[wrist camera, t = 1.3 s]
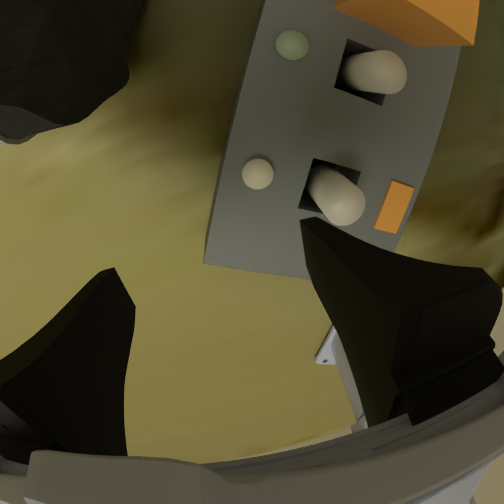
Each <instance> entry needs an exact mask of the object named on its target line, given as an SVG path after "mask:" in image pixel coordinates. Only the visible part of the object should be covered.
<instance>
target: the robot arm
mask: <svg viewBox="0 0 504 504" xmlns="http://www.w3.org/2000/svg"><path fill="white" fill-rule="evenodd" d="M299 221H300V228H301V234H302V241H303V247H304V254H305V261H306V267H307V270H308V272H309V275H310V278H311V281H312V283H313V286H314V288H315V290H316V292H317V294H318V296H319V298H320V300H321V302H322V304H323V306H324V308H325V310H326V312H327V314H328V316H329V318H330V320H331V322H332V323H333V326H332V328H331V330H330V332H329V334H328V336H327V338H326V339H325V341H324V343H323V345H322V347H321V349H320V350H319V352H318V354H317V356H316V358H315V362H316V363H317V364H336V365H337V367H338V370H339V373H340V376H341V378H342V381H343V384H344V387H345V390H346V392H347V395H348V398H349V401H350V404H351V407H352V410H353V412H354V415H355V418H356V421H357V423H355V424H354V425H352V426H351V430H352V434H349V435H345V436H343V437H339V438H336V439H332V440H329V441H325V442H322V443H318V444H314V445H310V446H306V447H302V448H298V449H293V450H289V451H284V452H279V453H274V454H269V455H264V456H258V457H252V458H246V459H240V460H232V461H224V462H215V463H205V464H197V463H192V462H186V461H181V460H176V459H171V458H157V457H143V456H128V454H127V448H126V438H125V427H124V384H125V376H126V370H127V364H128V359H129V354H130V349H131V343H132V338H133V333H134V326H135V308H136V306H135V305H134V303H133V301H132V299H131V297H130V296H129V294H128V292H127V290H126V288H125V287H124V285H123V283H122V281H121V279H120V277H119V275H118V274H117V272H116V270H115V268H114V267H113V268H110V269H106V270H103V271H101V272H99V273H98V274H97V275H95V276H94V277H93V278H92V279H91V280H90V281H89V282H88V283H87V284H86V285H85V286H84V287H83V288H82V289H81V290H80V291H79V292H78V293H77V294H76V295H75V296H74V297H73V298H72V299H71V300H70V301H69V302H68V303H67V304H66V305H65V306H64V307H63V308H62V309H61V310H60V311H59V312H58V313H57V314H56V315H55V317H54V318H53V319H52V320H50V321H49V322H48V323H47V324H46V325H45V326H44V327H43V328H42V329H41V330H40V331H38V332H37V333H36V334H35V335H34V336H33V337H31V338H30V339H29V340H27V341H26V342H25V343H24V344H22V345H21V346H20V347H18V348H17V349H16V350H14V351H13V352H12V353H10V354H9V355H7V356H6V357H4V358H3V359H1V360H0V504H476V502H475V500H474V497H473V493H474V491H475V490H476V488H477V486H478V485H479V483H480V481H481V480H482V478H483V476H484V474H485V473H486V471H487V469H488V467H489V465H490V463H491V462H492V461H494V460H495V459H496V458H498V457H499V456H501V455H502V454H503V453H504V351H503V352H502V353H501V354H500V355H499V356H498V357H497V356H496V354H495V353H494V351H493V349H494V348H495V342H494V341H493V339H492V338H491V337H490V333H491V331H492V329H493V327H494V324H495V322H496V320H497V317H498V315H499V312H500V309H501V306H502V295H503V294H502V290H501V287H500V286H499V285H498V284H497V283H496V282H495V281H494V280H493V279H492V278H491V277H490V276H489V275H488V274H487V273H486V272H485V271H484V270H483V269H482V268H475V267H462V266H451V265H445V264H438V263H432V262H427V261H423V260H418V259H414V258H411V257H407V256H403V255H400V254H396V253H393V252H391V251H388V250H385V249H382V248H379V247H377V246H374V245H372V244H370V243H367V242H365V241H363V240H361V239H358V238H356V237H354V236H352V235H350V234H348V233H346V232H344V231H342V230H341V229H339V228H337V227H335V226H333V225H331V224H330V223H328V222H326V221H324V220H322V219H320V218H318V217H316V216H314V217H310V218H306V219H301V220H299Z"/></svg>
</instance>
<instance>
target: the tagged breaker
mask: <svg viewBox="0 0 504 504" xmlns="http://www.w3.org/2000/svg"><path fill="white" fill-rule="evenodd" d="M305 187H306V190H307V192H308V193H309V195H310V196H311V197H312V199H313V200H314V201H315V202H316V204H317V205H318V206H319V208H320V209H321V210H322V212H323V213H324V214H325V216H326V217H327V218H328V220H329V221H330V222H331V223H333V224H335V225H338V226H346V225H350V224H352V223H354V222H355V221H357V220H358V219H359V218H360V217H361V215H362V213H363V211H364V209H365V197H364V194H363V192H362V191H361V190H360V189H359V188H358V187H357V186H356V185H354V184H353V183H352V182H351V181H349V180H348V179H347V178H346V177H345V176H343V175H342V174H341V173H340V172H338V171H337V170H336V169H335V168H333V167H332V166H330V165H326V164H321V165H317V166H315V167H313V168H312V169H311V170H310V171H309V173H308V177H307V180H306V183H305Z"/></svg>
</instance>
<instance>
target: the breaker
mask: <svg viewBox="0 0 504 504" xmlns="http://www.w3.org/2000/svg"><path fill="white" fill-rule="evenodd" d="M338 76H339V79H340V81H341V82H342V84H343V85H344V86H346V87H347V88H349V89H351V90H355V91H365V92H375V93H383V94H395V93H397V92H399V91H400V90H401V89H402V88H403V87H404V85H405V83H406V80H407V71H406V67H405V65H404V63H403V61H402V60H401V58H400V57H399V56H398V55H396V54H395V53H393V52H391V51H388V50H379V51H372V52H366V53H360V54H354V55H349V56H346V57H344V58H343V59H342V60H341V63H340V67H339V71H338Z"/></svg>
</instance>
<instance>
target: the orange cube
mask: <svg viewBox="0 0 504 504" xmlns="http://www.w3.org/2000/svg"><path fill="white" fill-rule="evenodd" d="M479 1H480V0H336V2H335V6H334V9H335V10H337V11H340V12H342V13H345V14H347V15H350V16H352V17H355V18H357V19H359V20H362V21H364V22H366V23H368V24H371V25H373V26H375V27H377V28H379V29H381V30H383V31H385V32H387V33H389V34H391V35H393V36H395V37H397V38H399V39H401V40H403V41H404V42H406V43H408V44H410V45H412V46H413V47H430V46H474V40H475V34H476V27H477V20H478V11H479Z"/></svg>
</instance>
